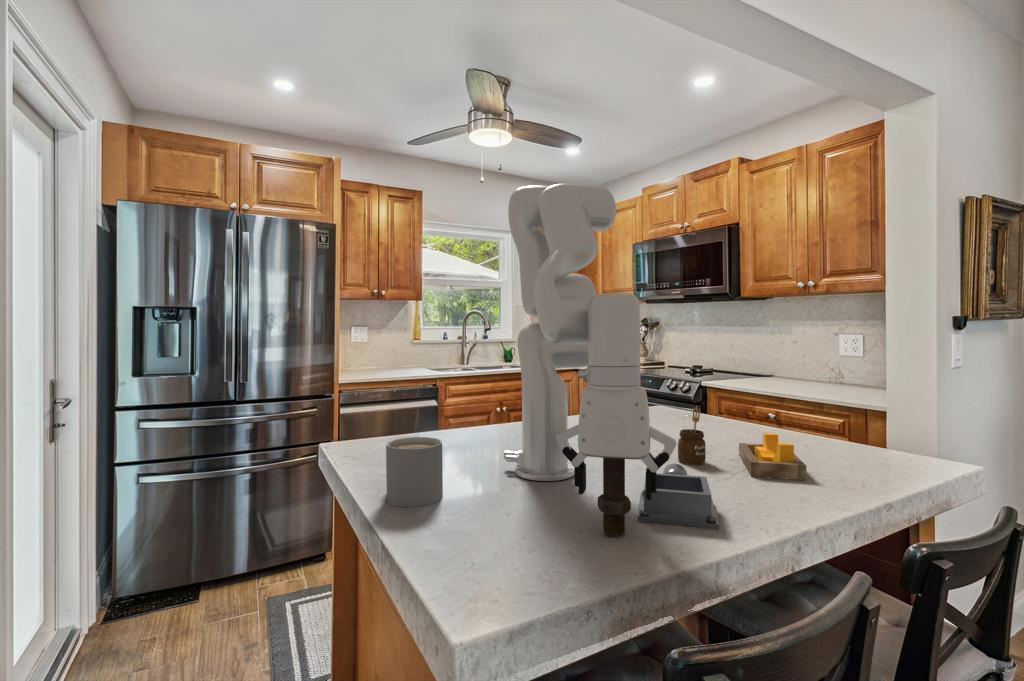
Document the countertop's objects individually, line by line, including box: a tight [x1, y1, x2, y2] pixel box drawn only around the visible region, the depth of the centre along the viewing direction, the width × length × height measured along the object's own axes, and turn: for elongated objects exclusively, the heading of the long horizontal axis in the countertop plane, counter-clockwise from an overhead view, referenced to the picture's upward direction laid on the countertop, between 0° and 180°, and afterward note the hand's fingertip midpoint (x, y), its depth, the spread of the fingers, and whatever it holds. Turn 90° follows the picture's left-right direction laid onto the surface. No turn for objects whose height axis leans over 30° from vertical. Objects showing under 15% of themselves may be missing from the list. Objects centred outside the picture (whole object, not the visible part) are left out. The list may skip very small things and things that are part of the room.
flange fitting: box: [636, 463, 720, 530], centre depth 87 cm, size 12×18×5 cm, turn 163°
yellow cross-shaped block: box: [755, 432, 795, 463], centre depth 110 cm, size 12×4×6 cm, turn 169°
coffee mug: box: [385, 436, 444, 508], centre depth 93 cm, size 13×10×10 cm
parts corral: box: [738, 442, 807, 481], centre depth 110 cm, size 10×18×3 cm, turn 163°
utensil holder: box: [677, 406, 707, 466], centre depth 115 cm, size 6×6×12 cm
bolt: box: [597, 458, 632, 538], centre depth 74 cm, size 6×5×15 cm
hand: (614, 494), depth 74 cm, fingers open, 9 cm apart
